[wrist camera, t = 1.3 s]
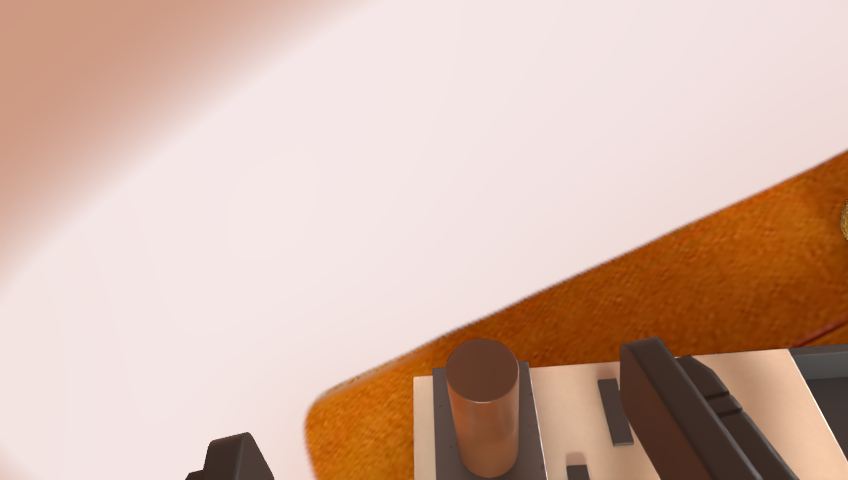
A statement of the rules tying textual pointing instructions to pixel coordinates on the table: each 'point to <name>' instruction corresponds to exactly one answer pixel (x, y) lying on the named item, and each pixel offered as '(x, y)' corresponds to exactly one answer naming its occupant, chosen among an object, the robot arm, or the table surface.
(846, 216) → the sculpture
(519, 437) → the stamp with brown handle
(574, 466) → the strip
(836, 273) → the table surface
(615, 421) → the bar
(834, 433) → the bin
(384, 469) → the table surface
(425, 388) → the beige flat block
